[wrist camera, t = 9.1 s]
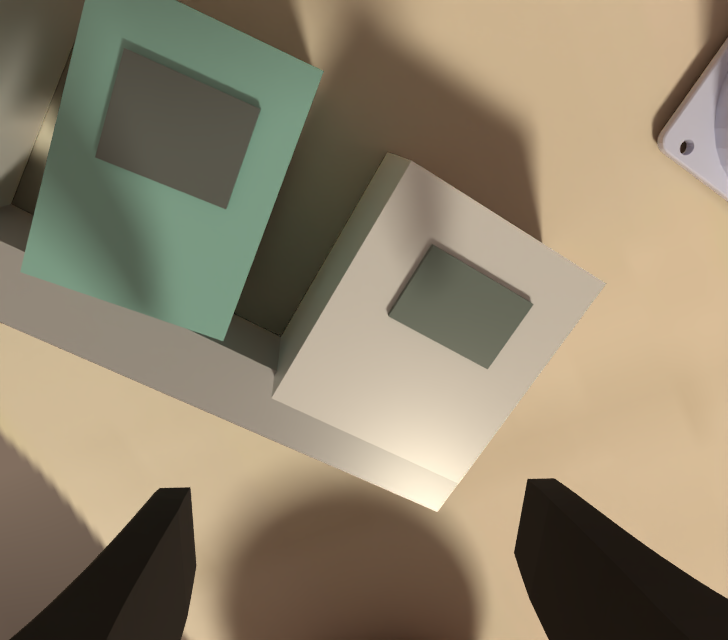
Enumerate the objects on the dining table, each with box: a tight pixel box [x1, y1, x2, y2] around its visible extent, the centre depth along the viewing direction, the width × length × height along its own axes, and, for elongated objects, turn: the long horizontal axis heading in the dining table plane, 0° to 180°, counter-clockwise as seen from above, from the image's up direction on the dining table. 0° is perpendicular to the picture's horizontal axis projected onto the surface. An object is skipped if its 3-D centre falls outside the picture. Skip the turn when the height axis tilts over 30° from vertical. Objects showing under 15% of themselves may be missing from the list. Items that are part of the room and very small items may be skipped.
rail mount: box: [0, 0, 606, 512], centre depth 16 cm, size 26×10×5 cm, turn 59°
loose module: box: [20, 0, 324, 341], centre depth 15 cm, size 5×7×6 cm
